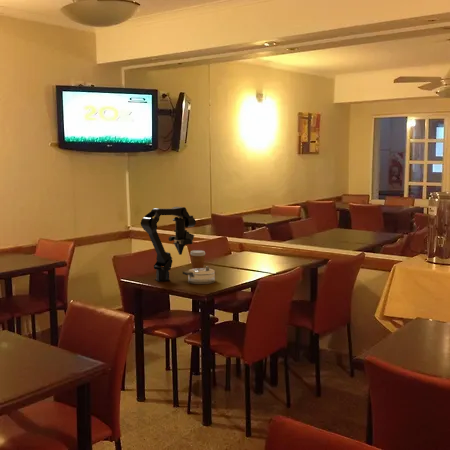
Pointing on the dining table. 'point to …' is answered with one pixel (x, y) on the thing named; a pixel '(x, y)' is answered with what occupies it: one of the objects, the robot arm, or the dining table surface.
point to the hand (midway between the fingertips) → (180, 254)
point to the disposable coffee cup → (197, 258)
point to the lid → (199, 271)
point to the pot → (201, 279)
